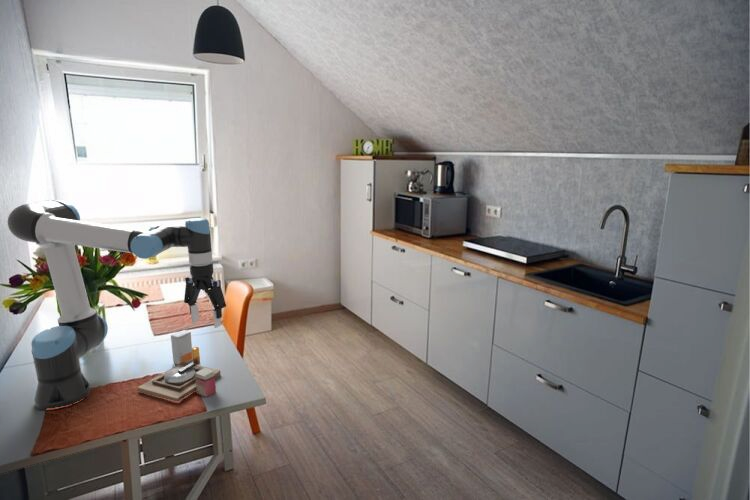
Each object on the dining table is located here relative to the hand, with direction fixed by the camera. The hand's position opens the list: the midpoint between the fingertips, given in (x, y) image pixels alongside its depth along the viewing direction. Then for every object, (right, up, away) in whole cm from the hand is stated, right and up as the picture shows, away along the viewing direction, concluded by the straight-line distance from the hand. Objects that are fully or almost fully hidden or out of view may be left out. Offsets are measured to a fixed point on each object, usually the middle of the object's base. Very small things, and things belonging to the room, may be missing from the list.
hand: (206, 324), depth 155 cm
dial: (-8, -19, +1) cm, 20 cm away
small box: (+2, -23, -6) cm, 24 cm away
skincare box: (-15, -18, +16) cm, 28 cm away
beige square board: (-9, -21, 0) cm, 23 cm away
